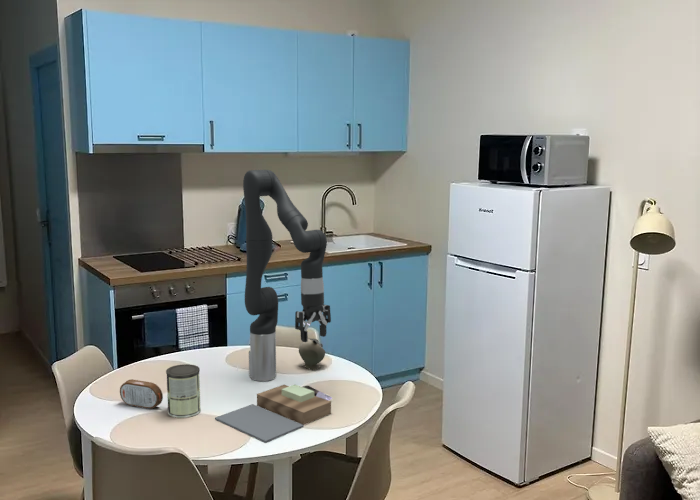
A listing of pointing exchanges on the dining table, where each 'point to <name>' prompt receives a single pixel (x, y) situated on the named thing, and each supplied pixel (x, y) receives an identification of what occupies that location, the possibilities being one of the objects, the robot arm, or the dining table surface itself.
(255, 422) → the mat
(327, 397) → the mobile phone
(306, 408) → the walnut stand
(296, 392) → the sponge
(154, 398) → the tin
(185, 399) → the coffee can
